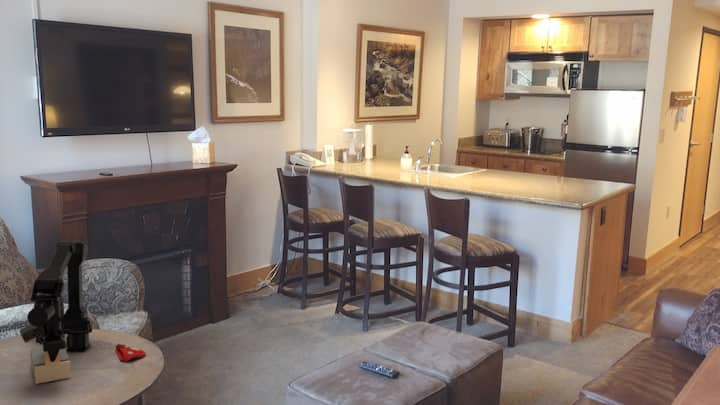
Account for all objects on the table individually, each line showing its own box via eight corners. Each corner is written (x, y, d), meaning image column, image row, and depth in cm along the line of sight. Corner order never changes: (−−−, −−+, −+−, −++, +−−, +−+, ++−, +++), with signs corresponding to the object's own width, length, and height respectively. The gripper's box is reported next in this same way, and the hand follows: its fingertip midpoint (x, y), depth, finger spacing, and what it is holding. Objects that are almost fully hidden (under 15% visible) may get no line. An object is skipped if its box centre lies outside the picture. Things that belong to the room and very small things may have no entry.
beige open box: (31, 365, 203) (30, 339, 201) (64, 360, 208) (63, 333, 207) (35, 383, 191) (34, 355, 189) (70, 377, 196) (69, 349, 195)
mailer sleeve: (31, 365, 205) (30, 348, 203) (63, 359, 210) (63, 343, 209) (35, 382, 193) (34, 364, 192) (69, 376, 198) (69, 358, 197)
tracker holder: (150, 348, 220) (140, 354, 210) (146, 360, 219) (136, 366, 209) (118, 339, 220) (107, 344, 210) (114, 351, 219) (103, 356, 209)
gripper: (18, 308, 194) (21, 354, 196) (23, 328, 178) (26, 378, 181) (57, 303, 200) (59, 348, 202) (65, 322, 184) (67, 370, 187)
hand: (52, 360), depth 193 cm, fingers closed, pressing on beige open box
